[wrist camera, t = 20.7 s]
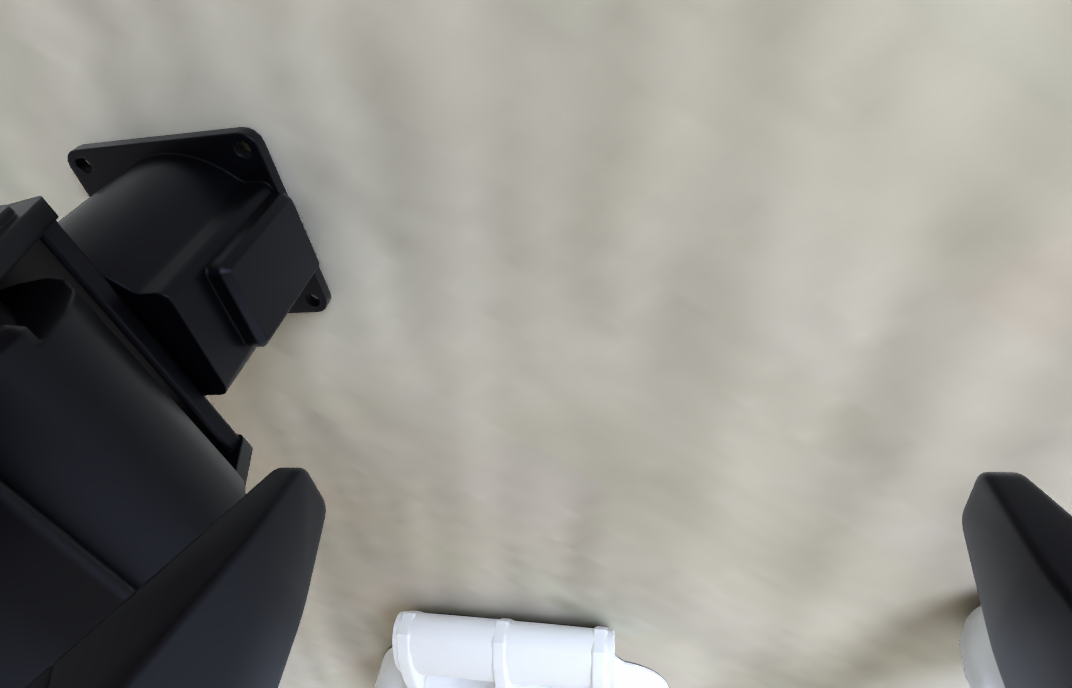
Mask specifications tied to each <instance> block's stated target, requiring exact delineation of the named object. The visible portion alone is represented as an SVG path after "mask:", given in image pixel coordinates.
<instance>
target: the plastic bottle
mask: <svg viewBox="0 0 1072 688" xmlns="http://www.w3.org/2000/svg"><path fill="white" fill-rule="evenodd" d="M959 645H960V651H961V657H962V663H963V669H964V674H965V677H966V679H967V681H968V683H969V685H970V688H1005V686H1004V683H1003V681H1002V678H1001V675H1000V672H999V670H998V667H997V664H996V661H995V658H994V655H993V652H992V648H991V644H990V640H989V637H988V633H987V629H986V625H985V621H984V616H983V612H982V608H981V606H979V607H977V608H976V609H975V610H973V611H972V612H971V613H970V614H969V616H968V617H967V619H966V620H965V623H964V626H963V629H962V631H961V634H960V638H959Z"/></svg>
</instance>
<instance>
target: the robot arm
mask: <svg viewBox="0 0 1072 688" xmlns="http://www.w3.org/2000/svg"><path fill="white" fill-rule="evenodd" d="M241 141H243V142H245V143H247V144H248V145H249V147H250V148H251V151H248V150H246V149H245V148H244V147H243V146H242V144H241ZM85 160H87V161H88V162H89V163H90V164H91V165H89V164H88V163H87V162H86V161H85ZM68 162H69V165H70V167H71V168H72V170H73V172H74V173H75V175H76V176H77V178H78V179H79V181H80V182H81V184H82V185H83V187H84V189H85V190H86V192H87V193H88V195H89V196H90V198H88V199H87V200H86V201H84V202H83V203H82V204H81V205H79V206H78V207H77V208H75V209H74V210H73V211H71V212H70V213H69V214H68V215H66V216H65V217H64V218H62V219H61V220H60V221H59V222H57V221H56V219H57V218H58V217H59V216H58V215H57V214H56V213H55V212H54V210H53V209H52V208H51V207H50V206H49V205H48V203H47V202H46V201H45V200H44V199H43V197H42V196H37V197H34V198H30V199H27V200H23V201H20V202H16V203H12V204H9V205H1V206H0V688H278V686H279V683H280V680H281V677H282V674H283V671H284V668H285V665H286V662H287V659H288V656H289V653H290V650H291V647H292V644H293V641H294V639H295V636H296V633H297V630H298V627H299V623H300V620H301V617H302V614H303V610H304V606H305V602H306V599H307V594H308V590H309V586H310V581H311V577H312V572H313V568H314V564H315V559H316V555H317V550H318V546H319V541H320V537H321V533H322V528H323V524H324V519H325V512H326V508H325V502H324V499H323V497H322V496H321V494H320V492H319V491H318V489H317V487H316V485H315V484H314V482H313V480H312V479H311V477H310V475H309V473H308V472H307V471H306V470H304V469H303V468H278V469H276V470H274V471H272V472H271V473H270V474H269V475H268V476H266V477H265V478H264V479H263V480H262V481H261V482H260V483H258V484H257V485H256V486H255V487H254V488H253V489H252V490H250V491H249V492H248V493H247V494H246V493H245V485H246V480H247V475H248V470H249V465H250V460H251V455H252V450H253V449H252V447H251V445H250V444H249V443H248V442H247V441H246V439H245V438H244V437H243V436H242V435H237V434H236V433H235V432H234V430H233V429H232V428H231V427H230V426H229V425H228V423H227V422H226V421H225V420H224V419H223V417H222V416H221V415H220V414H219V413H218V412H217V410H216V409H215V408H214V407H213V406H212V404H211V403H210V402H209V401H208V400H207V399H206V397H205V396H206V395H221V394H225V393H226V391H227V390H228V388H229V387H230V385H231V384H232V382H233V381H234V379H235V378H236V377H237V375H238V374H239V372H240V371H241V369H242V368H243V366H244V365H245V363H246V362H247V360H248V359H249V357H250V356H251V355H252V353H253V352H254V350H255V349H256V347H264V346H265V345H266V344H267V343H268V342H269V340H270V339H271V337H272V336H273V334H274V333H275V331H276V330H277V328H278V327H279V325H280V324H281V322H282V321H283V319H284V318H285V316H286V315H287V313H302V312H319V311H323V310H324V309H325V308H326V307H327V305H328V303H329V302H330V299H331V294H330V291H329V289H328V287H327V284H326V282H325V280H324V277H323V275H322V273H321V271H320V268H319V261H318V259H317V257H316V254H315V252H314V250H313V247H312V245H311V243H310V240H309V238H308V236H307V234H306V231H305V229H304V227H303V224H302V222H301V220H300V217H299V215H298V213H297V210H296V208H295V206H294V204H293V201H292V200H291V198H290V197H289V196H288V195H287V193H286V190H285V188H284V186H283V183H282V181H281V179H280V177H279V174H278V172H277V170H276V167H275V165H274V163H273V161H272V158H271V156H270V154H269V151H268V149H267V147H266V144H265V142H264V140H263V139H262V137H261V136H260V135H259V134H258V133H257V132H256V131H254V130H252V129H250V128H246V127H238V128H229V129H220V130H211V131H202V132H193V133H184V134H174V135H165V136H156V137H147V138H138V139H129V140H120V141H111V142H102V143H93V144H84V145H81V146H78V147H77V148H75V149H74V150H72V151H71V152H70V153H69V154H68ZM311 294H312V295H315V296H316V297H318V299H316V298H314V297H312V295H311ZM962 525H963V532H964V536H965V540H966V544H967V549H968V553H969V557H970V561H971V566H972V570H973V574H974V578H975V583H976V587H977V591H978V595H979V599H980V604H981V608H982V612H983V616H984V621H985V625H986V629H987V633H988V637H989V640H990V644H991V648H992V652H993V655H994V658H995V661H996V664H997V667H998V670H999V672H1000V675H1001V678H1002V681H1003V683H1004V686H1005V688H1072V516H1071V515H1070V514H1069V513H1068V512H1066V511H1065V510H1064V509H1063V508H1062V507H1061V506H1059V505H1058V504H1057V503H1056V502H1055V501H1054V500H1052V499H1051V498H1050V497H1049V496H1048V495H1047V494H1045V493H1044V492H1043V491H1042V490H1041V489H1039V488H1038V487H1037V486H1036V485H1035V484H1034V483H1032V482H1031V481H1030V480H1029V479H1028V478H1026V477H1025V476H1023V475H1021V474H1019V473H1014V472H985V473H982V474H981V475H979V476H978V478H977V480H976V482H975V484H974V487H973V489H972V491H971V494H970V496H969V499H968V501H967V504H966V506H965V508H964V511H963V516H962Z"/></svg>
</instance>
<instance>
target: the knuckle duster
mask: <svg viewBox="0 0 1072 688" xmlns="http://www.w3.org/2000/svg"><path fill="white" fill-rule="evenodd" d="M392 644H393V647H392V648H390V649H389V650H388V651H387V652H386V654H385V655H384V658H383V661H382V665H381V668H380V671H379V674H378V678H377V681H376V684H375V688H669V687H668V684H667V683H666V681H665V680H664V679H663V678H662V677H661V676H660V675H658V674H657V673H655V672H654V671H652V670H650V669H647V668H645V667H642V666H639V665H636V664H632V663H627V662H624V661H622V660H621V659H619V658H618V657H616V656H615V638H614V630H609V628H608V627H602V626H596V627H595V628H585V627H575V626H565V625H555V624H544V623H533V622H522V621H514V620H513V619H508V618H502V619H489V618H478V617H467V616H455V615H444V614H432V613H423V612H422V611H415V610H412V611H402V612H400V613H399V614H398V616H397V618H396V621H395V624H394V628H393V636H392Z"/></svg>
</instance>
